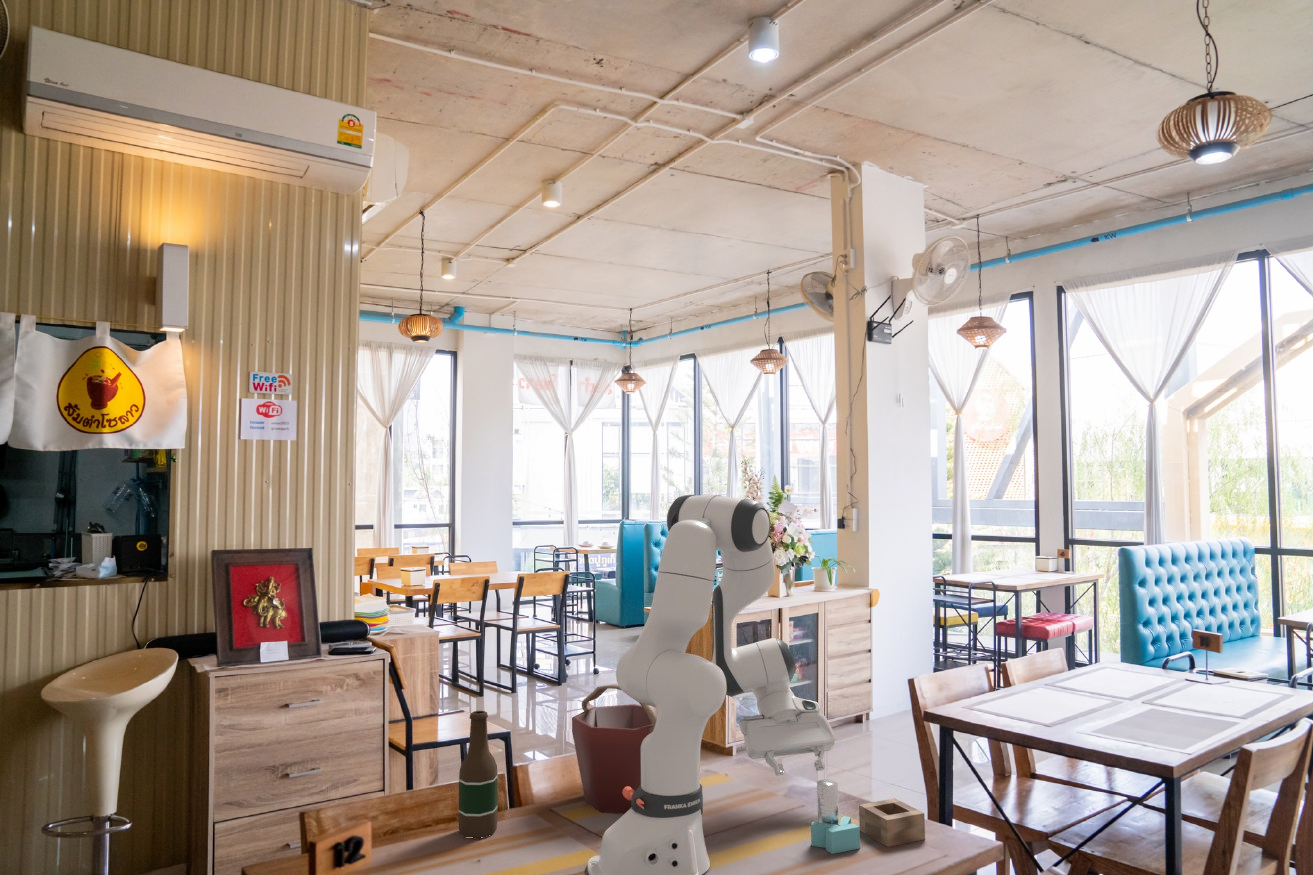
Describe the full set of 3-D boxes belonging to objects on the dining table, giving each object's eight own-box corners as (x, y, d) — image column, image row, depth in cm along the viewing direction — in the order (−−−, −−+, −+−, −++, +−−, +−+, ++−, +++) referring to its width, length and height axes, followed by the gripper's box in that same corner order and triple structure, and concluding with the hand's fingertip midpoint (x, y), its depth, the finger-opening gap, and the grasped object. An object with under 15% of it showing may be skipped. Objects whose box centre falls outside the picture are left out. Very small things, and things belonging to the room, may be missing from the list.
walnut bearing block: (887, 846, 162) (887, 820, 162) (859, 829, 170) (858, 804, 170) (925, 839, 165) (924, 813, 165) (895, 823, 173) (895, 798, 174)
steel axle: (825, 845, 162) (824, 787, 163) (814, 837, 166) (813, 781, 167) (842, 842, 164) (841, 784, 165) (831, 834, 168) (830, 778, 168)
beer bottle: (450, 835, 169) (451, 714, 171) (475, 822, 176) (476, 705, 178) (480, 842, 165) (481, 718, 167) (505, 828, 172) (505, 709, 174)
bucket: (559, 792, 194) (559, 682, 196) (644, 776, 204) (643, 672, 206) (603, 827, 172) (603, 704, 174) (695, 808, 183) (694, 691, 185)
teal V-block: (825, 855, 158) (824, 833, 158) (808, 843, 163) (807, 822, 164) (866, 846, 162) (865, 825, 162) (848, 835, 167) (847, 815, 167)
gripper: (740, 709, 183) (759, 769, 173) (825, 702, 188) (848, 759, 178) (733, 725, 187) (751, 784, 177) (816, 717, 192) (838, 774, 182)
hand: (800, 771), depth 178 cm, fingers open, 8 cm apart
